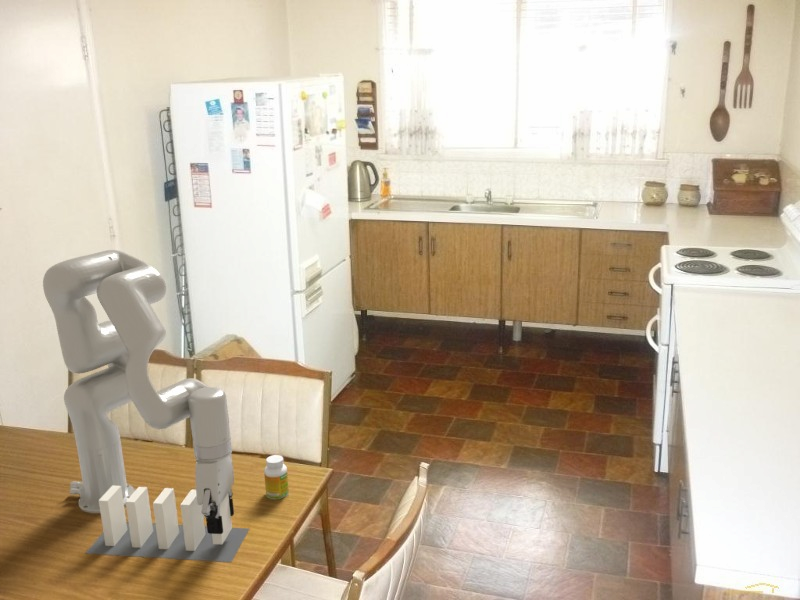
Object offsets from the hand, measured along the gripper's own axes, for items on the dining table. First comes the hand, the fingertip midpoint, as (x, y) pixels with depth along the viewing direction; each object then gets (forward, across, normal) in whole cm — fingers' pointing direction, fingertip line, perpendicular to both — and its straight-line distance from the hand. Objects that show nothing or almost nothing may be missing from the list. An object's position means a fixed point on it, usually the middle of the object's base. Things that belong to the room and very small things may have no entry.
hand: (221, 523), depth 161 cm
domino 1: (+5, 0, -24) cm, 25 cm away
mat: (+6, 0, -12) cm, 13 cm away
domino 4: (+5, 0, -6) cm, 8 cm away
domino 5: (+3, 0, 0) cm, 3 cm away
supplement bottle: (+6, -21, +6) cm, 23 cm away
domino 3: (+5, 0, -12) cm, 13 cm away
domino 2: (+5, 0, -18) cm, 19 cm away
